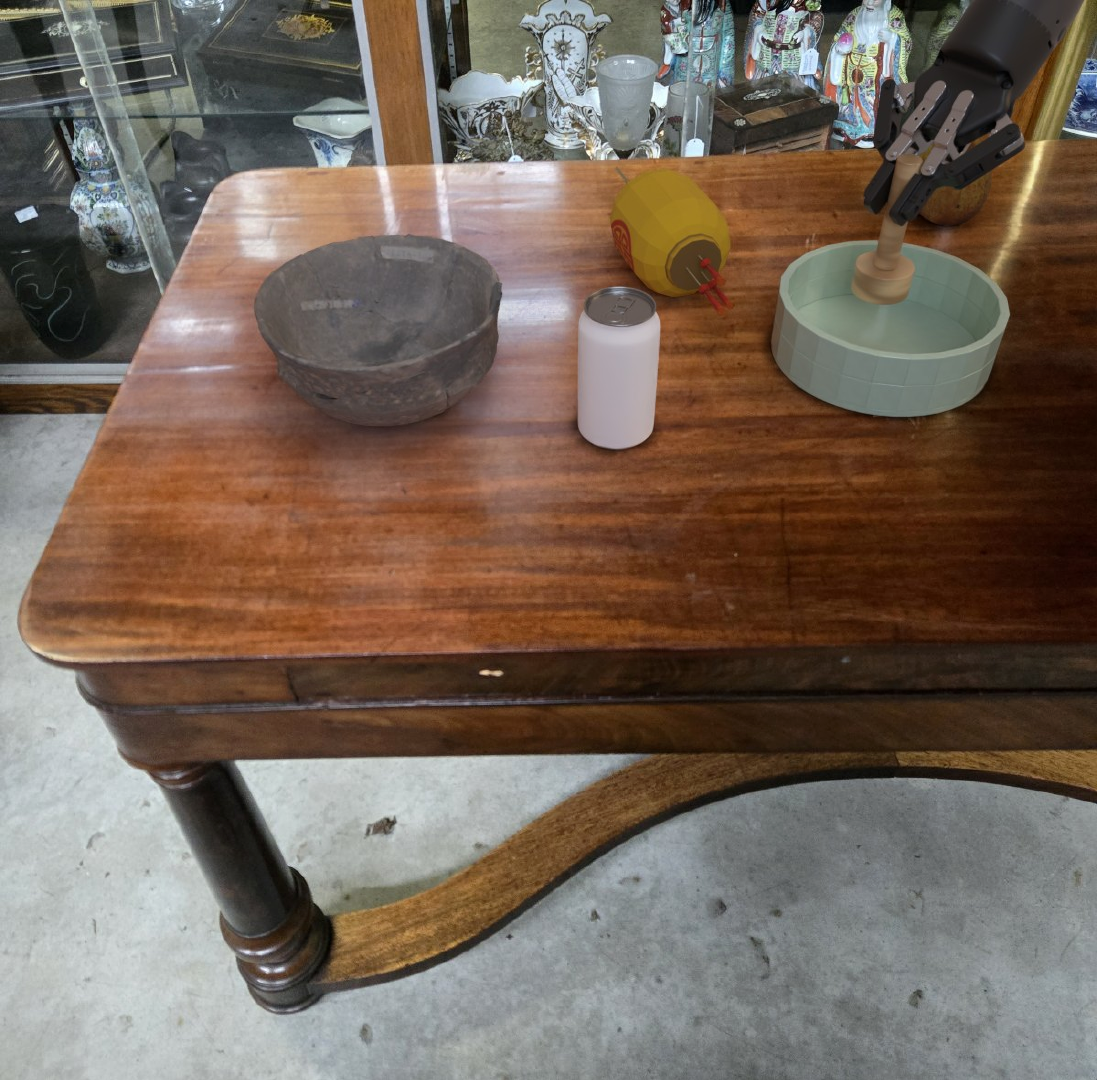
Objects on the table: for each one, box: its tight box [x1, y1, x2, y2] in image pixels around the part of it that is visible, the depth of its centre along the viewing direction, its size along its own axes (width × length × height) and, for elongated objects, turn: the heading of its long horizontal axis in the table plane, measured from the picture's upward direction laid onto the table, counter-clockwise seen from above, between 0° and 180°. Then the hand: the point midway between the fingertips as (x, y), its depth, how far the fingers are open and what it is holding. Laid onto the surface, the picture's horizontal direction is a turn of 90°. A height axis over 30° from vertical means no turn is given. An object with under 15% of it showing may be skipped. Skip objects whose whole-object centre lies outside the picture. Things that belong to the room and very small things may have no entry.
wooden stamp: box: [851, 154, 923, 305], centre depth 88 cm, size 5×5×12 cm
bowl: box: [253, 233, 503, 427], centre depth 89 cm, size 21×21×10 cm
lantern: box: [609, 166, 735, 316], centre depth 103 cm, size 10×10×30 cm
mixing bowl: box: [770, 239, 1011, 418], centre depth 94 cm, size 20×20×6 cm
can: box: [577, 286, 661, 451], centre depth 84 cm, size 6×6×12 cm
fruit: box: [918, 136, 993, 227], centre depth 110 cm, size 9×9×12 cm
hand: (882, 214), depth 86 cm, fingers closed on wooden stamp
